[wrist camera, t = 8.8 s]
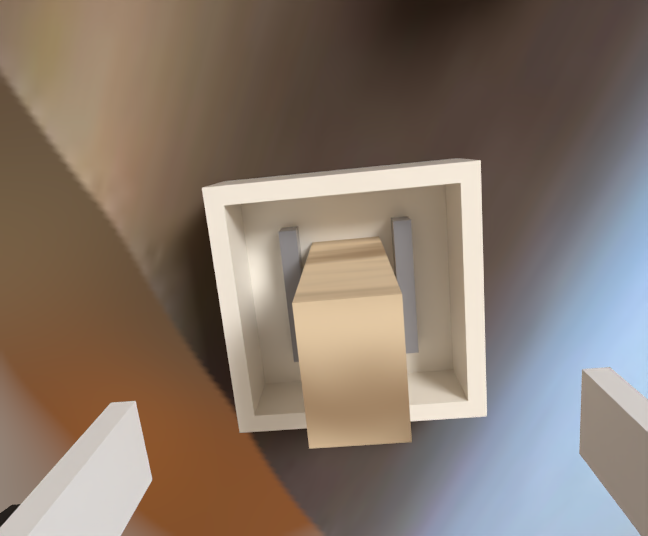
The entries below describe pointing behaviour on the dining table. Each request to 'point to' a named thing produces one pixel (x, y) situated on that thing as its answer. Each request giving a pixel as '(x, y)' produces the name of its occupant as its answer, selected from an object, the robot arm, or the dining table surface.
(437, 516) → the dining table surface
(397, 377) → the light wood block
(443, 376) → the white slotted box
